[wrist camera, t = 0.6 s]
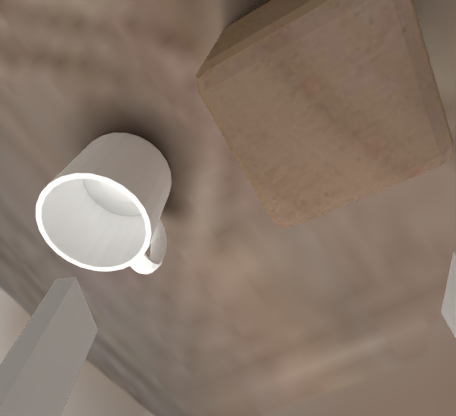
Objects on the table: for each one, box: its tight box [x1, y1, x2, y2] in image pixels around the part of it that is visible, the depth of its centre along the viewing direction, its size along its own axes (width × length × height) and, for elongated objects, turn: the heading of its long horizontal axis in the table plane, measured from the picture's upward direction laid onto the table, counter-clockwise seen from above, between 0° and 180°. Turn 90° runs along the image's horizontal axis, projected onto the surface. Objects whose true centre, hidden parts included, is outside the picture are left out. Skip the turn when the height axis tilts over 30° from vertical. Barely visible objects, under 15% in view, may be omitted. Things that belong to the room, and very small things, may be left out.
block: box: [196, 0, 453, 228], centre depth 27 cm, size 10×10×20 cm
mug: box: [36, 133, 172, 274], centre depth 39 cm, size 13×10×10 cm
